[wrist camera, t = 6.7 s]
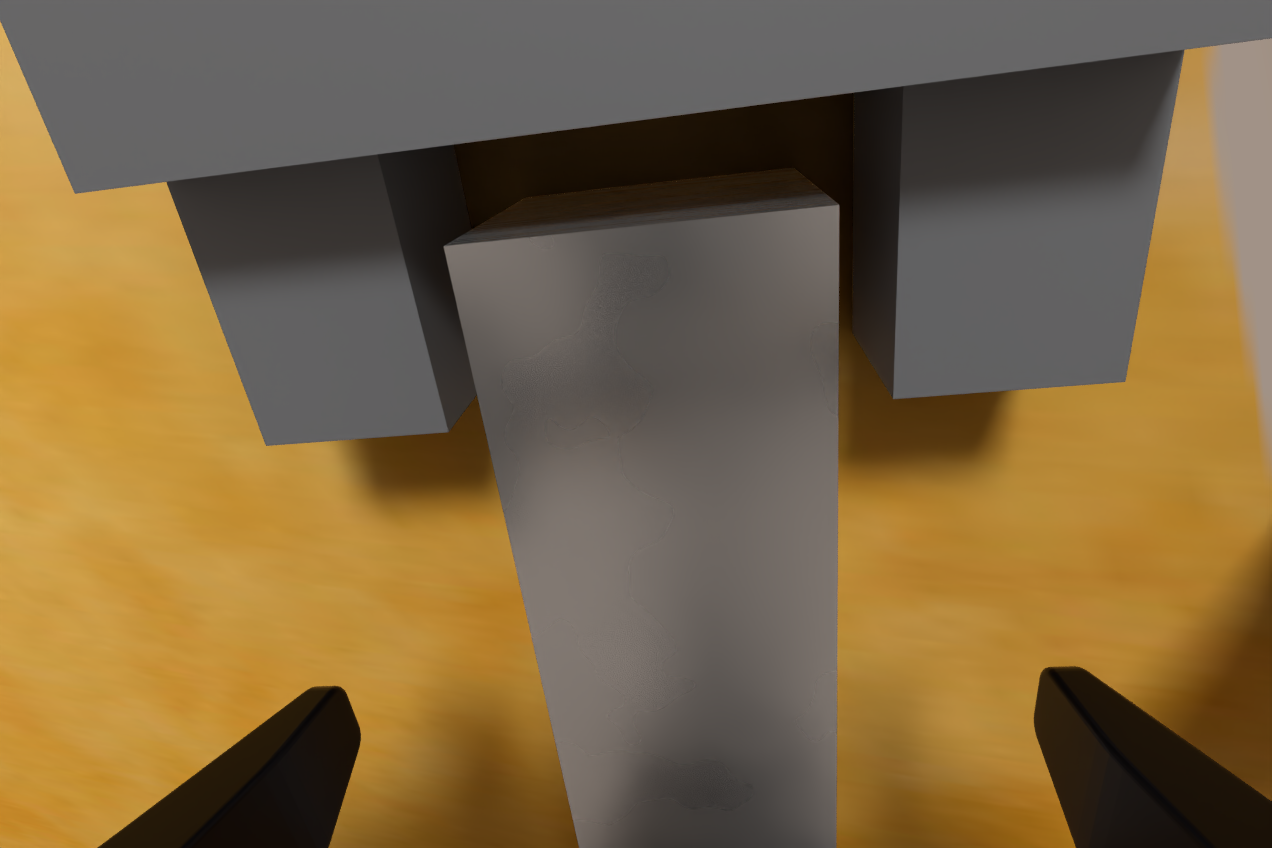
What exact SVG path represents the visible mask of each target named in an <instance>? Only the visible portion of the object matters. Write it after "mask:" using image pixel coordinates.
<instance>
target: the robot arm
mask: <svg viewBox="0 0 1272 848" xmlns="http://www.w3.org/2000/svg"><path fill="white" fill-rule="evenodd" d="M1034 727H1035V732H1036V736H1037V739H1038V742H1039V745H1040V748H1041V750H1042V753H1043V756H1044V759H1045V762H1046V764H1047V767H1048V770H1049V773H1050V776H1051V779H1052V781H1053V784H1054V787H1055V790H1056V793H1057V795H1058V798H1059V801H1060V804H1061V807H1062V810H1063V812H1064V815H1065V818H1066V821H1067V824H1068V826H1069V829H1070V832H1071V835H1072V838H1073V840H1074V843H1075V846H1076V848H1272V801H1270V800H1269V799H1267V798H1266V797H1265V796H1263V795H1262V794H1260V793H1259V792H1258V791H1256V790H1255V789H1253V788H1252V787H1251V786H1249V785H1248V784H1246V783H1245V782H1243V781H1242V780H1241V779H1239V778H1238V777H1236V776H1235V775H1234V774H1232V773H1231V772H1229V771H1228V770H1227V769H1225V768H1224V767H1222V766H1221V765H1220V764H1218V763H1217V762H1215V761H1214V760H1212V759H1211V758H1210V757H1208V756H1207V755H1205V754H1204V753H1203V752H1201V751H1200V750H1198V749H1197V748H1196V747H1194V746H1193V745H1191V744H1190V743H1188V742H1187V741H1186V740H1184V739H1183V738H1181V737H1180V736H1179V735H1177V734H1176V733H1174V732H1173V731H1172V730H1170V729H1169V728H1167V727H1166V726H1164V725H1163V724H1162V723H1160V722H1159V721H1157V720H1156V719H1155V718H1153V717H1152V716H1150V715H1149V714H1148V713H1146V712H1145V711H1143V710H1142V709H1140V708H1139V707H1138V706H1136V705H1135V704H1133V703H1132V702H1131V701H1129V700H1128V699H1126V698H1125V697H1124V696H1122V695H1121V694H1119V693H1118V692H1116V691H1115V690H1114V689H1112V688H1111V687H1109V686H1108V685H1107V684H1105V683H1104V682H1102V681H1101V680H1100V679H1098V678H1097V677H1095V676H1094V675H1092V674H1091V673H1090V672H1088V671H1087V670H1085V669H1083V668H1080V667H1076V666H1071V667H1048V668H1045V669H1044V670H1043V671H1042V672H1041V675H1040V679H1039V686H1038V692H1037V699H1036V705H1035V712H1034ZM360 741H361V733H360V727H359V724H358V722H357V719H356V717H355V714H354V711H353V709H352V706H351V704H350V701H349V699H348V696H347V694H346V692H345V690H344V689H342V688H341V687H339V686H318V687H312V688H310V689H308V690H307V691H305V692H304V693H302V694H301V695H300V696H298V697H297V698H296V699H294V700H293V701H292V702H290V703H289V704H288V705H286V706H285V707H284V708H283V709H281V710H280V711H279V712H277V713H276V714H275V715H273V716H272V717H271V718H269V719H268V720H267V721H265V722H264V723H263V724H261V725H260V726H259V727H257V728H256V729H255V730H253V731H252V732H251V733H249V734H248V735H247V736H245V737H244V738H243V739H241V740H240V741H239V742H237V743H236V744H235V745H233V746H232V747H231V748H229V749H228V750H227V751H225V752H224V753H223V754H221V755H220V756H219V757H217V758H216V759H215V760H213V761H212V762H211V763H210V764H208V765H207V766H206V767H204V768H203V769H202V770H200V771H199V772H198V773H196V774H195V775H194V776H192V777H191V778H190V779H188V780H187V781H186V782H184V783H183V784H182V785H180V786H179V787H178V788H176V789H175V790H174V791H172V792H171V793H170V794H168V795H167V796H166V797H164V798H163V799H162V800H160V801H159V802H158V803H156V804H155V805H154V806H152V807H151V808H150V809H148V810H147V811H146V812H144V813H143V814H142V815H140V816H139V817H138V818H136V819H135V820H134V821H132V822H131V823H130V824H129V825H127V826H126V827H125V828H123V829H122V830H121V831H119V832H118V833H117V834H115V835H114V836H113V837H111V838H110V839H109V840H107V841H106V842H105V843H103V844H102V845H101V846H99V847H98V848H328V847H329V844H330V841H331V838H332V835H333V832H334V828H335V825H336V822H337V819H338V815H339V812H340V809H341V806H342V802H343V799H344V796H345V793H346V789H347V786H348V783H349V780H350V776H351V773H352V770H353V767H354V763H355V760H356V757H357V754H358V750H359V747H360Z"/></svg>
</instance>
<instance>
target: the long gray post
mask: <svg viewBox="0 0 1272 848" xmlns="http://www.w3.org/2000/svg"><path fill="white" fill-rule="evenodd" d="M444 251H445V255H446V259H447V264H448V268H449V273H450V277H451V282H452V286H453V291H454V295H455V299H456V304H457V308H458V313H459V317H460V322H461V326H462V330H463V335H464V339H465V344H466V348H467V353H468V357H469V361H470V366H471V370H472V375H473V379H474V384H475V388H476V392H477V397H478V401H479V406H480V410H481V415H482V419H483V424H484V428H485V432H486V437H487V441H488V446H489V450H490V455H491V459H492V463H493V468H494V472H495V477H496V481H497V486H498V490H499V494H500V499H501V503H502V508H503V512H504V517H505V521H506V526H507V530H508V534H509V539H510V543H511V548H512V552H513V557H514V561H515V565H516V570H517V574H518V579H519V583H520V588H521V592H522V596H523V601H524V605H525V610H526V614H527V619H528V623H529V627H530V632H531V636H532V641H533V645H534V650H535V654H536V659H537V663H538V667H539V672H540V676H541V681H542V685H543V690H544V694H545V698H546V703H547V707H548V712H549V716H550V721H551V725H552V729H553V734H554V738H555V743H556V747H557V752H558V756H559V761H560V765H561V769H562V774H563V778H564V783H565V787H566V792H567V796H568V800H569V805H570V809H571V814H572V818H573V823H574V827H575V831H576V836H577V840H578V845H579V848H836V792H837V584H838V377H839V204H838V203H836V202H835V201H834V200H833V199H831V198H830V197H829V196H828V195H827V194H825V193H824V192H823V191H822V190H820V189H819V188H818V187H817V186H815V185H814V184H813V183H812V182H811V181H809V180H808V179H807V178H806V177H804V176H803V175H802V174H801V173H800V172H798V171H797V170H796V169H795V168H784V169H775V170H766V171H757V172H748V173H739V174H730V175H721V176H712V177H703V178H694V179H685V180H676V181H667V182H658V183H649V184H640V185H631V186H622V187H613V188H604V189H595V190H587V191H578V192H569V193H560V194H551V195H542V196H533V197H526V198H524V199H522V200H521V201H519V202H517V203H516V204H514V205H512V206H510V207H509V208H507V209H505V210H504V211H502V212H500V213H499V214H497V215H495V216H494V217H492V218H490V219H489V220H487V221H485V222H483V223H482V224H480V225H478V226H477V227H475V228H473V229H472V230H470V231H468V232H467V233H465V234H463V235H462V236H460V237H458V238H457V239H455V240H453V241H451V242H450V243H448V244H446V245H445V246H444Z"/></svg>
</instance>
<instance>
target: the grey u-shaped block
mask: <svg viewBox="0 0 1272 848" xmlns="http://www.w3.org/2000/svg"><path fill="white" fill-rule="evenodd" d="M0 21H1V23H2V26H3V28H4V30H5V33H6V35H7V37H8V40H9V42H10V44H11V47H12V49H13V51H14V54H15V56H16V58H17V60H18V63H19V65H20V67H21V70H22V72H23V74H24V77H25V79H26V81H27V84H28V86H29V88H30V91H31V93H32V95H33V98H34V100H35V102H36V104H37V107H38V109H39V111H40V114H41V116H42V118H43V121H44V123H45V125H46V128H47V130H48V132H49V135H50V137H51V139H52V142H53V144H54V146H55V148H56V151H57V153H58V155H59V158H60V160H61V162H62V165H63V167H64V169H65V172H66V174H67V176H68V179H69V181H70V183H71V186H72V188H73V190H74V192H75V194H76V193H84V192H91V191H99V190H107V189H114V188H122V187H130V186H138V185H145V184H153V183H161V182H167V185H168V187H169V190H170V193H171V195H172V198H173V201H174V203H175V206H176V209H177V211H178V214H179V217H180V219H181V222H182V225H183V227H184V230H185V232H186V235H187V238H188V240H189V243H190V246H191V248H192V251H193V254H194V256H195V259H196V262H197V264H198V267H199V270H200V272H201V275H202V277H203V280H204V283H205V285H206V288H207V291H208V293H209V296H210V299H211V301H212V304H213V307H214V309H215V312H216V314H217V317H218V320H219V322H220V325H221V328H222V330H223V333H224V336H225V338H226V341H227V344H228V346H229V349H230V352H231V354H232V357H233V359H234V362H235V365H236V367H237V370H238V373H239V375H240V378H241V381H242V383H243V386H244V389H245V391H246V394H247V397H248V399H249V402H250V404H251V407H252V410H253V412H254V415H255V418H256V420H257V423H258V426H259V428H260V431H261V434H262V436H263V439H264V442H265V444H266V446H270V445H284V444H297V443H311V442H324V441H338V440H351V439H364V438H378V437H391V436H405V435H418V434H432V433H445V432H449V431H450V430H451V428H452V427H453V426H454V424H455V423H456V422H457V420H458V419H459V418H460V416H461V415H462V414H463V412H464V411H465V410H466V408H467V407H468V406H469V404H470V403H471V402H472V400H473V399H474V398H475V396H476V395H477V392H476V388H475V384H474V379H473V375H472V370H471V366H470V361H469V357H468V353H467V348H466V344H465V339H464V335H463V330H462V326H461V322H460V317H459V313H458V308H457V304H456V299H455V295H454V291H453V286H452V282H451V277H450V273H449V268H448V264H447V259H446V255H445V251H444V246H445V245H446V244H448V243H450V242H451V241H453V240H455V239H457V238H458V237H460V236H462V235H463V234H465V233H467V232H468V231H470V230H472V229H471V224H470V219H469V215H468V210H467V205H466V201H465V196H464V191H463V187H462V182H461V177H460V172H459V168H458V163H457V158H456V154H455V149H454V144H461V143H469V142H476V141H484V140H492V139H500V138H507V137H515V136H523V135H530V134H538V133H546V132H553V131H561V130H569V129H577V128H584V127H592V126H600V125H607V124H615V123H623V122H630V121H638V120H646V119H654V118H661V117H669V116H677V115H684V114H692V113H700V112H708V111H715V110H723V109H731V108H738V107H746V106H754V105H761V104H769V103H777V102H785V101H792V100H800V99H808V98H815V97H823V96H831V95H838V94H846V93H854V163H853V318H852V333H853V335H854V337H855V338H856V340H857V341H858V343H859V345H860V346H861V348H862V349H863V351H864V353H865V354H866V356H867V358H868V359H869V361H870V362H871V364H872V366H873V367H874V369H875V370H876V372H877V374H878V375H879V377H880V379H881V380H882V382H883V383H884V385H885V387H886V388H887V390H888V392H889V393H890V395H891V396H892V398H893V399H901V398H915V397H928V396H942V395H955V394H969V393H982V392H995V391H1009V390H1022V389H1036V388H1049V387H1063V386H1076V385H1089V384H1103V383H1116V382H1125V380H1126V375H1127V369H1128V363H1129V358H1130V352H1131V347H1132V341H1133V335H1134V330H1135V324H1136V319H1137V313H1138V307H1139V302H1140V296H1141V291H1142V285H1143V279H1144V274H1145V268H1146V263H1147V257H1148V251H1149V246H1150V240H1151V234H1152V229H1153V223H1154V218H1155V212H1156V206H1157V201H1158V195H1159V190H1160V184H1161V178H1162V173H1163V167H1164V162H1165V156H1166V150H1167V145H1168V139H1169V134H1170V128H1171V122H1172V117H1173V111H1174V106H1175V100H1176V94H1177V89H1178V83H1179V78H1180V72H1181V66H1182V61H1183V55H1184V50H1185V49H1193V48H1200V47H1208V46H1216V45H1223V44H1231V43H1239V42H1246V41H1254V40H1262V39H1270V38H1272V0H0Z"/></svg>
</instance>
